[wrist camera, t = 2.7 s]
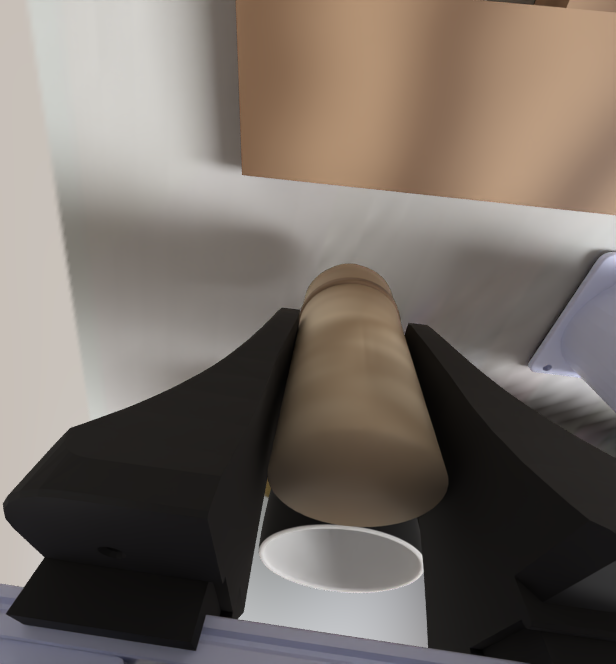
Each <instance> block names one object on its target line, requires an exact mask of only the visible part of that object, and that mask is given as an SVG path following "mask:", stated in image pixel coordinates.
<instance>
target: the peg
mask: <svg viewBox="0 0 616 664" xmlns="http://www.w3.org/2000/svg"><path fill="white" fill-rule="evenodd" d="M267 475H268V482H269V485H270V487H271V489H272V490H273V492H274V493H275V495H276V496H277V497H278V498H279V499H280V500H281V501H282V502H283V503H285V504H286V505H287V506H289V507H290V508H292V509H293V510H295V511H297V512H299V513H301V514H303V515H305V516H308V517H310V518H313V519H316V520H319V521H322V522H327V523H331V524H336V525H343V526H352V527H376V526H386V525H392V524H397V523H402V522H405V521H408V520H411V519H414V518H416V517H419V516H421V515H423V514H425V513H427V512H428V511H430V510H431V509H433V508H434V507H435V506H436V505H437V504H438V503H439V502H440V501H441V500H442V499H443V497H444V495H445V494H446V492H447V488H448V475H447V471H446V467H445V464H444V461H443V458H442V455H441V451H440V448H439V445H438V442H437V438H436V435H435V432H434V429H433V425H432V422H431V419H430V416H429V413H428V409H427V406H426V403H425V400H424V396H423V393H422V390H421V387H420V384H419V380H418V377H417V374H416V371H415V367H414V364H413V361H412V358H411V355H410V351H409V348H408V345H407V342H406V338H405V335H404V332H403V329H402V326H401V318H400V314H399V311H398V308H397V305H396V303H395V301H394V299H393V296H392V293H391V290H390V288H389V286H388V284H387V283H386V281H385V280H384V279H383V278H382V277H381V276H380V275H379V274H378V273H376V272H375V271H373V270H371V269H369V268H367V267H363V266H360V265H357V264H340V265H337V266H334V267H332V268H330V269H328V270H326V271H324V272H322V273H321V274H320V275H318V276H317V277H316V278H315V279H314V280H313V281H312V283H311V284H310V286H309V288H308V290H307V292H306V295H305V299H304V304H303V306H302V308H301V312H300V316H299V328H298V333H297V337H296V342H295V346H294V350H293V355H292V360H291V364H290V369H289V373H288V378H287V383H286V387H285V392H284V397H283V401H282V406H281V410H280V415H279V420H278V424H277V429H276V434H275V438H274V443H273V448H272V452H271V457H270V461H269V466H268V473H267Z"/></svg>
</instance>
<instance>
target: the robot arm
mask: <svg viewBox="0 0 616 664" xmlns="http://www.w3.org/2000/svg"><path fill="white" fill-rule="evenodd" d="M299 316H300V310H296V309H288V308H281V309H280V310H279V311H278V312H277V313H276V314H275V315H274V316H273V317H272V318H271V319H270V320H269V321H268V322H267V323H266V324H265V325H264V326H263V327H262V328H261V329H260V330H258V331H257V332H256V333H255V334H254V335H253V336H252V337H251V338H250V339H248V340H247V341H246V342H245V343H243V344H242V345H241V346H240V347H238V348H237V349H236V350H235V351H233V352H232V353H231V354H229V355H228V356H227V357H225V358H224V359H222V360H221V361H219V362H218V363H216V364H215V365H213V366H212V367H210V368H209V369H207V370H205V371H204V372H202V373H200V374H198V375H196V376H194V377H192V378H190V379H189V380H187V381H185V382H183V383H181V384H179V385H177V386H175V387H173V388H171V389H169V390H167V391H165V392H163V393H161V394H158V395H156V396H154V397H152V398H149V399H147V400H145V401H142V402H140V403H138V404H135V405H133V406H130V407H128V408H125V409H122V410H120V411H117V412H114V413H111V414H109V415H106V416H103V417H100V418H98V419H95V420H92V421H89V422H87V423H84V424H81V425H78V426H75V427H72V428H70V429H69V430H68V431H67V432H66V433H65V434H64V435H63V436H62V437H61V438H60V439H59V440H58V441H57V442H56V443H55V445H54V446H53V447H52V448H51V449H50V450H49V451H48V452H47V453H46V454H45V455H44V456H43V458H42V459H41V460H40V461H39V462H38V463H37V464H36V465H35V466H34V467H33V469H32V470H31V471H30V472H29V473H28V474H27V475H26V476H25V477H24V478H23V480H22V481H21V482H20V483H19V484H18V485H17V486H16V487H15V488H14V489H13V491H12V492H11V493H10V494H9V495H8V496H7V498H6V499H5V501H4V503H3V509H4V514H5V518H6V520H7V521H8V522H9V523H10V524H11V526H12V527H13V528H14V529H15V530H16V531H17V532H18V533H19V534H20V535H21V536H22V537H23V538H24V539H26V540H27V541H28V542H29V543H30V544H31V545H32V546H33V547H34V548H35V549H36V550H38V551H39V553H41V554H42V555H43V556H44V557H45V558H44V559H43V561H42V562H41V564H40V565H39V566H38V568H37V569H36V571H35V572H34V574H33V575H32V576H31V578H30V579H29V581H28V582H27V584H26V585H25V587H19V586H12V585H6V584H0V664H616V458H614V457H612V456H610V455H609V454H607V453H605V452H603V451H601V450H600V449H598V448H596V447H594V446H592V445H590V444H589V443H587V442H585V441H583V440H582V439H580V438H578V437H577V436H575V435H573V434H571V433H570V432H568V431H566V430H565V429H563V428H561V427H560V426H558V425H556V424H555V423H553V422H551V421H550V420H548V419H547V418H545V417H543V416H542V415H540V414H539V413H537V412H536V411H534V410H533V409H531V408H530V407H528V406H527V405H525V404H524V403H522V402H521V401H520V400H518V399H517V398H515V397H514V396H512V395H511V394H510V393H508V392H507V391H505V390H504V389H503V388H501V387H500V386H499V385H498V384H496V383H495V382H494V381H492V380H491V379H490V378H489V377H487V376H486V375H485V374H484V373H482V372H481V371H480V370H479V369H477V368H476V367H475V366H474V365H473V364H472V363H470V362H469V361H468V360H467V359H466V358H465V357H463V356H462V355H461V354H460V353H459V352H458V351H457V350H455V349H454V348H453V347H452V346H451V345H450V344H449V343H448V342H447V341H445V340H444V339H443V338H442V337H441V336H440V335H439V334H437V333H436V332H435V331H434V330H433V329H431V328H430V327H429V326H427V325H421V324H412V323H408V326H407V329H406V332H405V338H406V342H407V345H408V348H409V351H410V355H411V358H412V361H413V364H414V367H415V371H416V374H417V377H418V380H419V384H420V387H421V390H422V393H423V396H424V400H425V403H426V406H427V409H428V413H429V416H430V419H431V422H432V425H433V429H434V432H435V435H436V438H437V442H438V445H439V448H440V451H441V455H442V458H443V461H444V464H445V467H446V471H447V475H448V488H447V492H446V494H445V495H444V497H443V499H442V500H441V501H440V502H439V503H438V504H437V505H436V506H435V507H434V508H433V509H431V510H430V511H428V512H427V513H425V514H423V515H421V516H419V526H420V535H421V546H422V558H423V570H424V583H425V599H426V614H427V633H428V648H424V647H417V646H410V645H404V644H398V643H390V642H384V641H377V640H371V639H364V638H357V637H351V636H344V635H338V634H331V633H325V632H318V631H311V630H305V629H298V628H291V627H284V626H277V625H271V624H265V623H258V622H251V621H244V620H238V618H239V617H240V616H241V615H242V614H243V612H244V607H245V601H246V595H247V589H248V583H249V578H250V572H251V566H252V560H253V554H254V549H255V543H256V538H257V532H258V526H259V521H260V515H261V510H262V504H263V499H264V493H265V488H266V483H267V477H268V475H267V473H268V466H269V461H270V457H271V452H272V448H273V443H274V438H275V434H276V429H277V424H278V420H279V415H280V410H281V406H282V401H283V397H284V392H285V387H286V383H287V378H288V373H289V369H290V364H291V360H292V355H293V350H294V346H295V342H296V337H297V333H298V328H299ZM546 365H547V366H546ZM544 366H545V367H544ZM528 367H529V368H530V369H531V370H532V371H533V372H538V373H547V374H555V375H563V376H571V377H580V378H582V379H583V380H584V381H585V382H586V383H587V384H588V385H589V386H590V387H591V388H592V389H593V390H594V391H595V392H596V393H597V394H598V395H599V396H600V397H601V398H602V399H603V400H604V401H605V402H606V403H607V404H608V405H609V406H610V407H611V408H612V409H613V410H614V411H615V412H616V252H608V253H605V254H603V255H602V256H600V257H599V258H598V260H597V261H596V262H595V264H594V265H593V267H592V268H591V270H590V271H589V273H588V274H587V276H586V277H585V279H584V280H583V282H582V283H581V285H580V286H579V288H578V289H577V291H576V292H575V294H574V295H573V297H572V298H571V300H570V301H569V303H568V304H567V306H566V307H565V309H564V310H563V312H562V313H561V315H560V317H559V318H558V320H557V321H556V323H555V324H554V326H553V327H552V329H551V330H550V332H549V333H548V335H547V336H546V338H545V339H544V341H543V342H542V344H541V345H540V347H539V348H538V350H537V351H536V353H535V354H534V356H533V357H532V359H531V360H530V362H529V364H528Z"/></svg>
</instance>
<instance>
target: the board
mask: <svg viewBox="0 0 616 664" xmlns="http://www.w3.org/2000/svg"><path fill="white" fill-rule="evenodd" d="M236 23H237V51H238V78H239V105H240V132H241V159H242V175H247V176H256V177H265V178H275V179H284V180H293V181H303V182H312V183H321V184H331V185H340V186H349V187H358V188H368V189H377V190H386V191H396V192H405V193H414V194H424V195H433V196H442V197H451V198H461V199H470V200H479V201H489V202H498V203H507V204H516V205H526V206H535V207H544V208H554V209H563V210H572V211H582V212H591V213H600V214H609V215H616V0H535V3H534V5H527V4H517V3H506V2H495V1H484V0H236Z"/></svg>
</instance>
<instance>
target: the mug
mask: <svg viewBox="0 0 616 664" xmlns="http://www.w3.org/2000/svg"><path fill="white" fill-rule="evenodd" d="M259 555H260V558H261V560H262V562H263V563H264V564H265V566H266V567H267V568H268V569H270V570H271V571H272V572H274V573H275V574H277V575H279V576H280V577H283V578H285V579H287V580H290V581H292V582H294V583H298V584H301V585H304V586H307V587H312V588H316V589H321V590H327V591H334V592H347V593H369V592H381V591H387V590H392V589H396V588H400V587H403V586H406V585H408V584H410V583H412V582H414V581H415V580H417V579H418V578H419V577H420V576H421V575H422V573H423V572H424V570H423V558H422V546H421V535H420V526H419V517H416V518H414V519H411V520H408V521H405V522H402V523H397V524H392V525H386V526H376V527H352V526H343V525H336V524H331V523H327V522H322V521H319V520H316V519H313V518H310V517H308V516H305V515H303V514H301V513H299V512H297V511H295V510H293V509H292V508H290V507H289V506H287V505H286V504H285V503H283V502H282V501H281V500H280V499H279V498H278V497H277V496H276V495H275V493H274V492H273V490H272V489H271V491H270V495H269V499H268V504H267V508H266V512H265V516H264V521H263V526H262V531H261V538H260V544H259Z"/></svg>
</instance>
